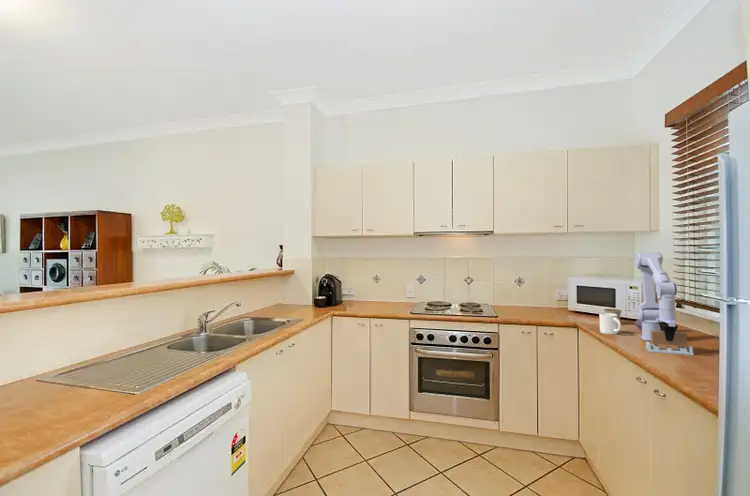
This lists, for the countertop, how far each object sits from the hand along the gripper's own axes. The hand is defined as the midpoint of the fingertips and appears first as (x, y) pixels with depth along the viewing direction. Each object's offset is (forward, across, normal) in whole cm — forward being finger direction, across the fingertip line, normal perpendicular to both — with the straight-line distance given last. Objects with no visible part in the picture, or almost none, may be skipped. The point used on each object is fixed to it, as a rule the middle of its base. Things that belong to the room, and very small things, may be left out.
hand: (668, 339), depth 158 cm
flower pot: (+6, -61, -14) cm, 63 cm away
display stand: (+5, 0, 0) cm, 5 cm away
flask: (+6, -43, +2) cm, 43 cm away
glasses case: (+2, 0, 0) cm, 2 cm away
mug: (+6, -31, -18) cm, 36 cm away
